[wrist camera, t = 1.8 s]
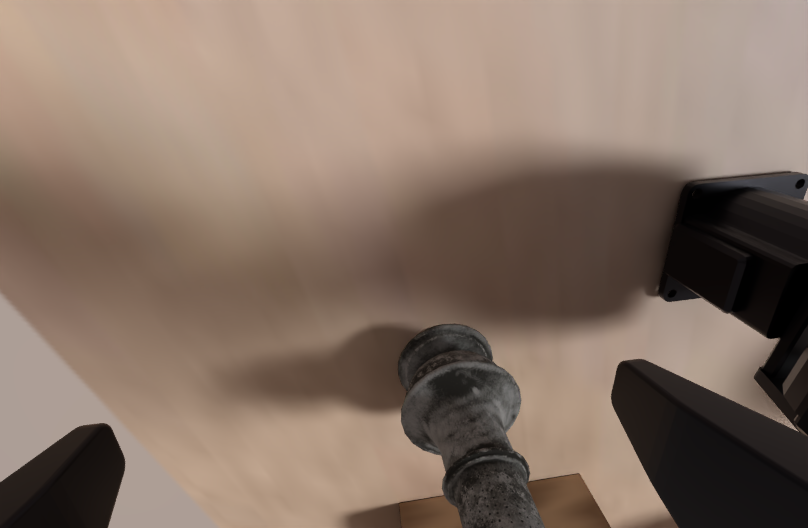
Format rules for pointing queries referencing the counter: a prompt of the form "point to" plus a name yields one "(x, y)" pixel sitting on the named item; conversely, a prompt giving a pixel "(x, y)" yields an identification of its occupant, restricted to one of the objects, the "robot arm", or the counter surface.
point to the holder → (554, 498)
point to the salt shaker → (467, 425)
